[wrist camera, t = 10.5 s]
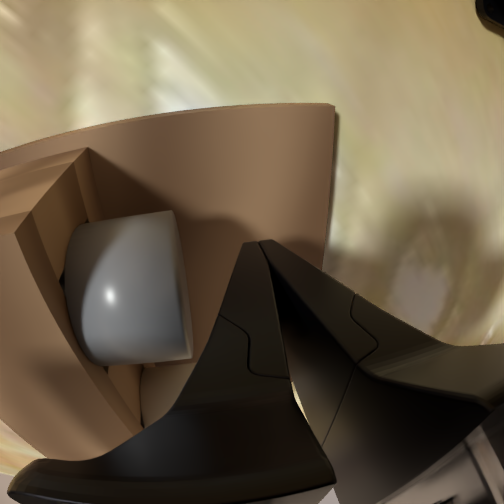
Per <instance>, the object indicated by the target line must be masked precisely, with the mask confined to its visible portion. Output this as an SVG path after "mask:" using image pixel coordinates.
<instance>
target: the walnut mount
mask: <svg viewBox="0 0 504 504" xmlns="http://www.w3.org/2000/svg"><path fill="white" fill-rule="evenodd" d="M334 121H335V106H333V105H330V104H328V103H277V104H253V105H236V106H223V107H212V108H202V109H193V110H184V111H176V112H169V113H162V114H155V115H149V116H143V117H137V118H131V119H125V120H120V121H115V122H110V123H105V124H100V125H96V126H91V127H87V128H83V129H78V130H74V131H70V132H66V133H62V134H59V135H55V136H51V137H48V138H44V139H40V140H37V141H34V142H30V143H27V144H24V145H21V146H18V147H14V148H11V149H8V150H5V151H3V152H0V419H1V420H2V421H3V422H4V423H5V424H6V425H7V426H9V427H10V428H11V429H12V430H13V431H14V432H15V433H17V434H18V435H19V436H20V437H21V438H23V439H24V440H25V441H26V442H27V443H29V444H30V445H31V446H32V447H34V448H35V449H36V450H38V451H39V452H40V453H41V454H43V455H44V456H45V457H47V458H48V459H59V460H68V461H81V460H87V459H92V458H95V457H98V456H101V455H103V454H105V453H107V452H109V451H111V450H112V449H114V448H116V447H117V446H119V445H120V444H122V443H124V442H125V441H127V440H128V439H130V438H131V437H133V436H134V435H136V434H137V433H139V432H140V431H142V430H144V428H143V427H142V426H141V424H140V406H141V399H140V385H141V377H142V373H143V371H144V369H145V368H150V367H161V366H171V365H180V364H189V363H197V361H198V359H199V358H200V356H201V354H202V352H203V350H204V348H205V346H206V344H207V342H208V339H209V337H210V334H211V331H212V329H213V326H214V323H215V321H216V318H217V316H218V312H219V309H220V306H221V304H222V301H223V298H224V295H225V292H226V289H227V286H228V283H229V280H230V277H231V275H232V272H233V269H234V266H235V263H236V260H237V257H238V254H239V252H240V249H241V246H242V244H243V243H244V242H250V241H257V242H258V241H260V240H266V239H273V240H275V241H276V242H278V243H280V244H281V245H283V246H284V247H286V248H287V249H289V250H291V251H292V252H294V253H295V254H297V255H298V256H300V257H301V258H303V259H304V260H306V261H308V262H309V263H311V264H312V265H314V266H315V267H317V268H318V269H320V270H321V271H322V263H323V255H324V246H325V237H326V228H327V218H328V207H329V196H330V184H331V171H332V157H333V140H334ZM169 210H172V211H173V213H174V215H175V218H176V222H177V226H178V231H179V236H180V242H181V248H182V254H183V260H184V266H185V273H186V280H187V287H188V295H189V303H190V312H191V321H192V332H193V357H192V358H191V359H182V360H173V361H164V362H153V363H142V364H129V365H115V366H98V365H96V364H94V363H93V362H92V361H90V360H89V358H88V357H87V356H86V355H85V353H84V352H83V350H82V348H81V346H80V344H79V343H78V340H77V338H76V335H75V333H74V330H73V327H72V324H71V320H70V316H69V312H68V307H67V301H66V297H65V294H64V292H63V290H62V288H61V286H60V283H59V279H60V276H61V274H62V272H63V269H64V267H65V261H66V254H67V248H68V245H69V241H70V238H71V236H72V234H73V232H74V231H75V229H76V228H77V227H78V226H79V225H81V224H85V223H91V222H97V221H103V220H109V219H115V218H121V217H128V216H134V215H141V214H148V213H155V212H162V211H169ZM289 373H290V372H289ZM290 381H291V382H293V380H292V378H291V375H290Z"/></svg>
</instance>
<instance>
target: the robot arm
mask: <svg viewBox="0 0 504 504" xmlns="http://www.w3.org/2000/svg"><path fill="white" fill-rule="evenodd" d="M476 4H477V9H478V12H479V14H480V15H481V16H482V17H483V18H484V19H486V20H488V21H490V22H492V23H494V24H496V25H498V26H500V27H502V28H503V29H504V0H476ZM289 372H290V373H289ZM290 375H291V378H292V380H293V383H294V386H295V388H296V391H297V394H298V396H299V399H300V401H301V404H302V407H303V409H304V412H305V415H306V417H307V420H308V422H307V420H306V418H305V417H304V415H303V413H302V411H301V409H300V408H299V406H298V404H297V402H296V400H295V397H294V393H293V389H292V385H291V381H290ZM308 423H309V424H308ZM309 425H310V426H309ZM332 488H334V490H335V493H336V496H337V498H338V501H339V503H340V504H504V343H503V344H491V345H478V346H454V345H449V344H446V343H443V342H441V341H439V340H437V339H435V338H433V337H431V336H429V335H427V334H425V333H424V332H422V331H420V330H418V329H416V328H414V327H412V326H411V325H409V324H407V323H405V322H403V321H401V320H399V319H398V318H396V317H394V316H392V315H391V314H389V313H387V312H385V311H383V310H382V309H380V308H379V307H377V306H375V305H374V304H372V303H371V302H369V301H367V300H366V299H364V298H363V297H361V296H360V295H358V294H355V292H354V291H352V290H351V289H349V288H347V287H346V286H344V285H343V284H341V283H340V282H338V281H337V280H335V279H334V278H332V277H331V276H329V275H328V274H326V273H325V272H323V271H321V270H320V269H318V268H317V267H315V266H314V265H312V264H311V263H309V262H308V261H306V260H304V259H303V258H301V257H300V256H298V255H297V254H295V253H294V252H292V251H291V250H289V249H287V248H286V247H284V246H283V245H281V244H280V243H278V242H276V241H275V240H273V239H266V240H260V241H258V242H257V241H250V242H244V243H243V244H242V246H241V249H240V252H239V254H238V257H237V260H236V263H235V266H234V269H233V272H232V275H231V277H230V280H229V283H228V286H227V289H226V292H225V295H224V298H223V301H222V304H221V306H220V309H219V312H218V316H217V318H216V321H215V323H214V326H213V329H212V331H211V334H210V337H209V339H208V342H207V344H206V346H205V348H204V350H203V352H202V354H201V356H200V358H199V359H198V361H197V363H196V365H195V367H194V369H193V370H192V372H191V374H190V376H189V378H188V380H187V381H186V383H185V385H184V387H183V389H182V390H181V392H180V394H179V396H178V398H177V399H176V401H175V403H174V404H173V405H172V407H171V408H170V409H169V411H168V412H167V413H166V414H165V415H164V416H163V417H161V418H160V419H158V420H157V421H155V422H154V423H153V424H151V425H150V426H148V427H147V428H145V429H144V430H142V431H140V432H139V433H137V434H136V435H134V436H133V437H131V438H130V439H128V440H127V441H125V442H124V443H122V444H120V445H119V446H117V447H116V448H114V449H112V450H111V451H109V452H107V453H105V454H103V455H101V456H98V457H95V458H92V459H87V460H81V461H68V460H59V459H48V458H43V459H37V460H34V461H32V462H31V463H30V464H28V465H27V466H26V467H24V468H23V469H22V470H21V471H19V472H18V473H17V475H16V476H15V477H14V478H13V480H12V481H11V483H10V485H9V487H8V490H7V494H8V496H9V497H10V498H12V499H13V500H15V501H17V502H18V503H20V504H318V503H319V502H320V501H321V500H322V499H323V498H324V497H325V496H326V495H327V494H328V492H329V491H330V490H331V489H332Z"/></svg>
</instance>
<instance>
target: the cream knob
mask: <svg viewBox="0 0 504 504" xmlns="http://www.w3.org/2000/svg"><path fill="white" fill-rule="evenodd" d="M195 365H196V363H189V364H180V365H171V366H161V367H150V368H145V369H144V371H143V373H142V377H141V385H140V399H141V406H140V424H141V426H142V427H143V428H144V429H145V428H147V427H148V426H150V425H151V424H153V423H154V422H155V421H157V420H158V419H160V418H161V417H163V416H164V415H165V414H166V413H167V412H168V411H169V409H170V408H171V407H172V405H173V404H174V403H175V401H176V399H177V398H178V396H179V394H180V392H181V390H182V389H183V387H184V385H185V383H186V381H187V380H188V378H189V376H190V374H191V372H192V370H193V369H194V367H195Z"/></svg>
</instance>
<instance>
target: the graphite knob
mask: <svg viewBox="0 0 504 504" xmlns="http://www.w3.org/2000/svg"><path fill="white" fill-rule="evenodd" d="M59 283H60V286H61V288H62V290H63V292H64V294H65V297H66V301H67V307H68V312H69V316H70V320H71V324H72V327H73V330H74V333H75V335H76V338H77V340H78V343H79V344H80V346H81V348H82V350H83V352H84V353H85V355H86V356H87V357H88V358H89V360H90V361H92V362H93V363H94V364H96V365H98V366H115V365H129V364H142V363H153V362H164V361H173V360H182V359H191V358H192V357H193V332H192V321H191V312H190V303H189V295H188V287H187V280H186V273H185V266H184V260H183V254H182V248H181V242H180V236H179V231H178V226H177V222H176V218H175V215H174V213H173V211H172V210H169V211H162V212H155V213H148V214H141V215H134V216H128V217H121V218H115V219H109V220H103V221H97V222H91V223H85V224H81V225H79V226H78V227H77V228H76V229H75V231H74V232H73V234H72V236H71V238H70V241H69V245H68V248H67V254H66V261H65V267H64V269H63V272H62V274H61V276H60V279H59Z"/></svg>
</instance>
